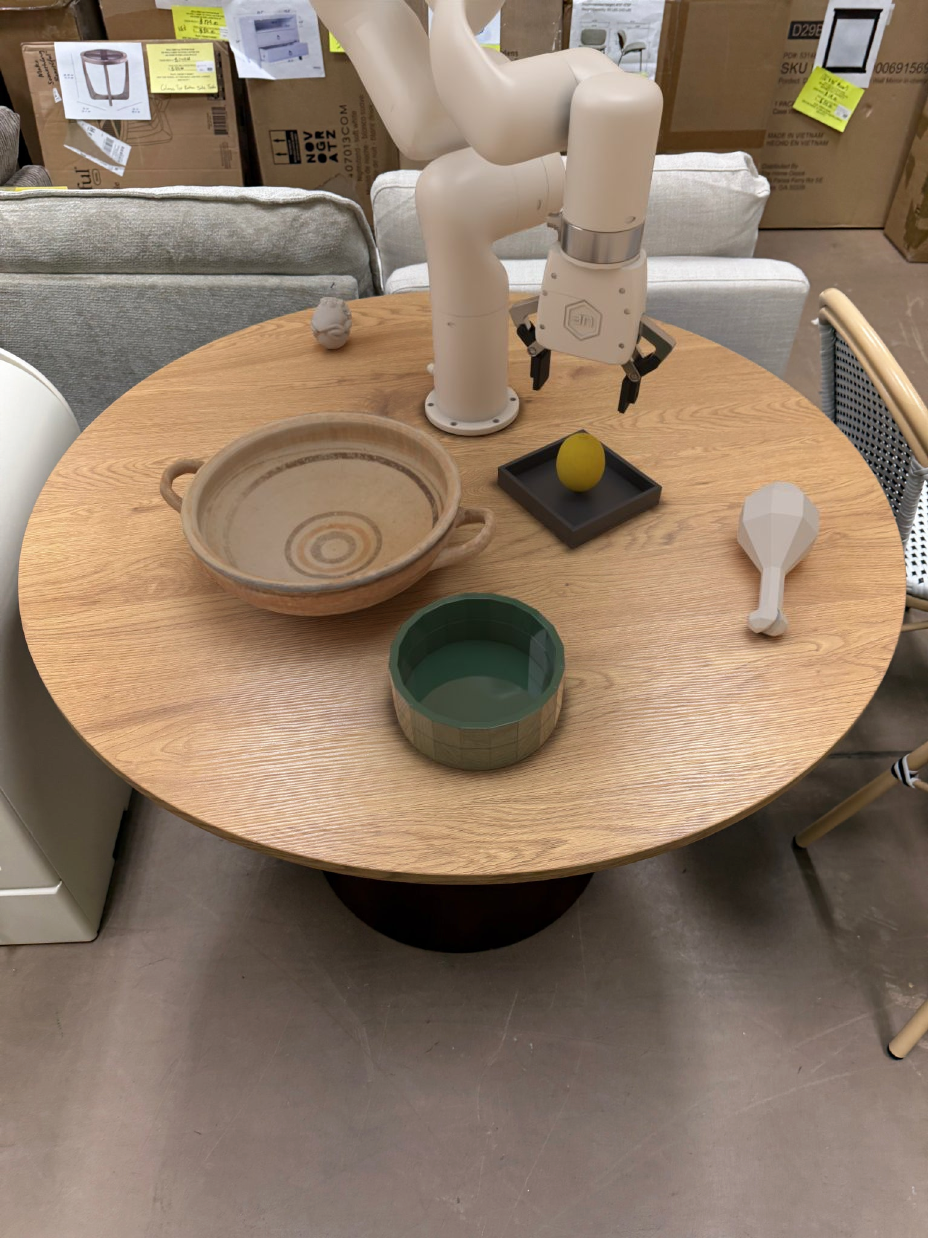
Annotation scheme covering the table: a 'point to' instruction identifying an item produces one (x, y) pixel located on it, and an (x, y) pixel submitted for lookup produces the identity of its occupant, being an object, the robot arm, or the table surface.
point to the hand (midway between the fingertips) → (582, 395)
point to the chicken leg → (776, 545)
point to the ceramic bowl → (325, 512)
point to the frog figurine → (331, 322)
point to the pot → (477, 680)
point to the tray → (578, 493)
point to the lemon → (580, 462)
